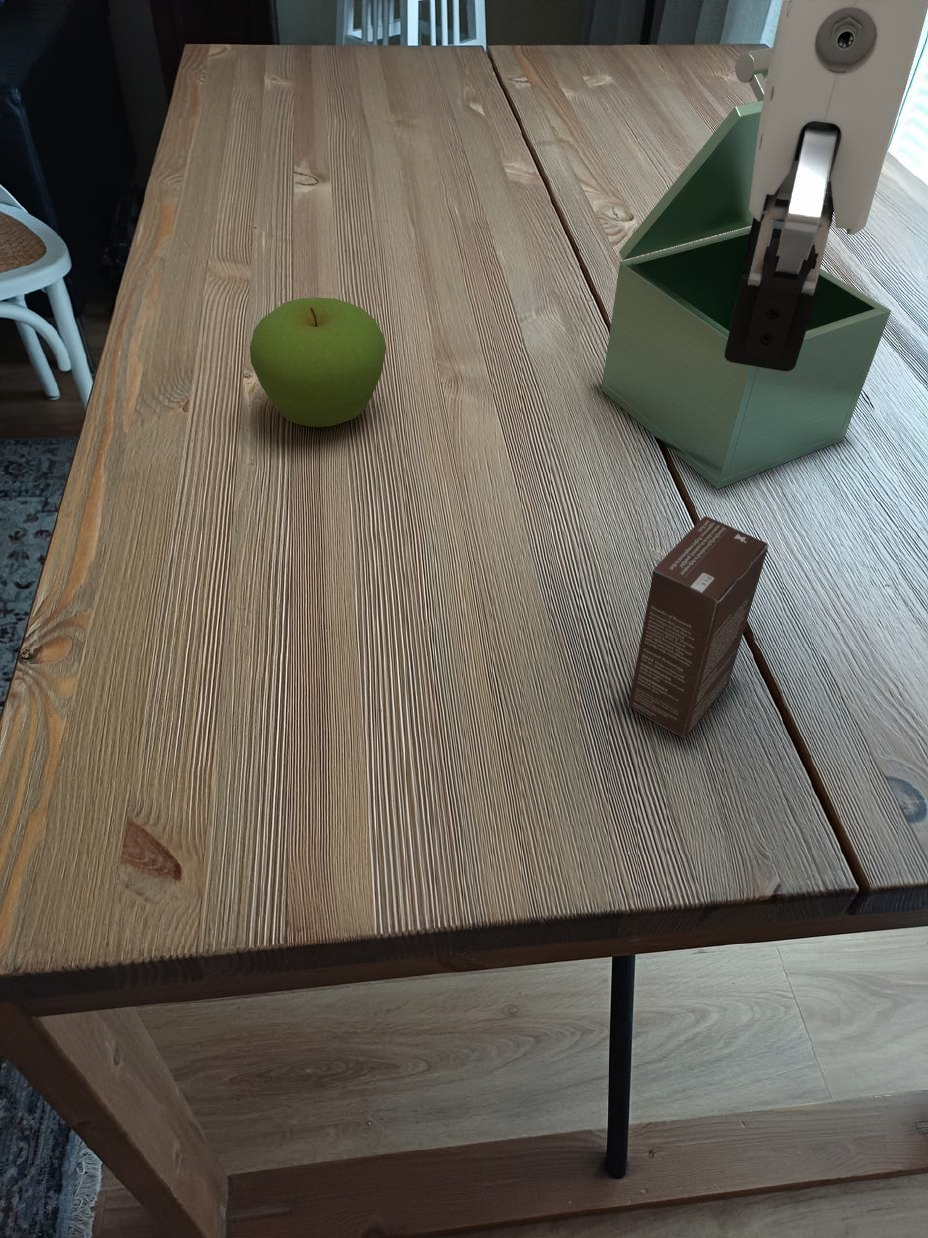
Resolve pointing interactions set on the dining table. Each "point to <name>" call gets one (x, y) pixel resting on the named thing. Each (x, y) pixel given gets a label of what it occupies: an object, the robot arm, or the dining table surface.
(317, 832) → the dining table surface
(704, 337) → the trash can
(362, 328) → the apple
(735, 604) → the box
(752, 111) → the bin lid
